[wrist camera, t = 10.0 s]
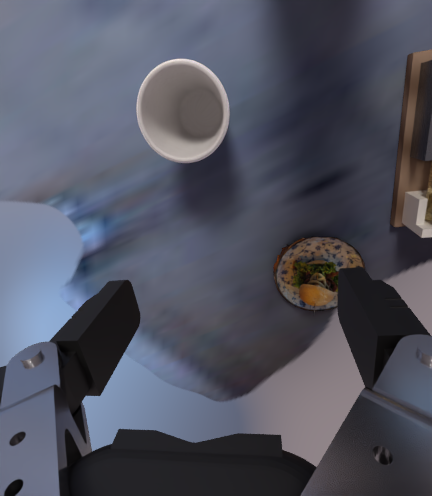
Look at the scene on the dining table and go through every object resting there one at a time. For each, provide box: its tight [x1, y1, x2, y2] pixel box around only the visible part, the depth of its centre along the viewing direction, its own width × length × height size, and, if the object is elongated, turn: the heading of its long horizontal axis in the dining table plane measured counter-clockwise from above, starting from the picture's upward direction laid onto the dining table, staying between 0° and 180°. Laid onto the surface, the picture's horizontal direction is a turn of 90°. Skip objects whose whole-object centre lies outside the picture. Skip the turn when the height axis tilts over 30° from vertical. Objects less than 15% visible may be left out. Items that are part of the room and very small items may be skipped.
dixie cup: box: [137, 59, 230, 163], centre depth 30 cm, size 8×8×10 cm
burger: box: [274, 237, 365, 313], centre depth 38 cm, size 12×12×8 cm
